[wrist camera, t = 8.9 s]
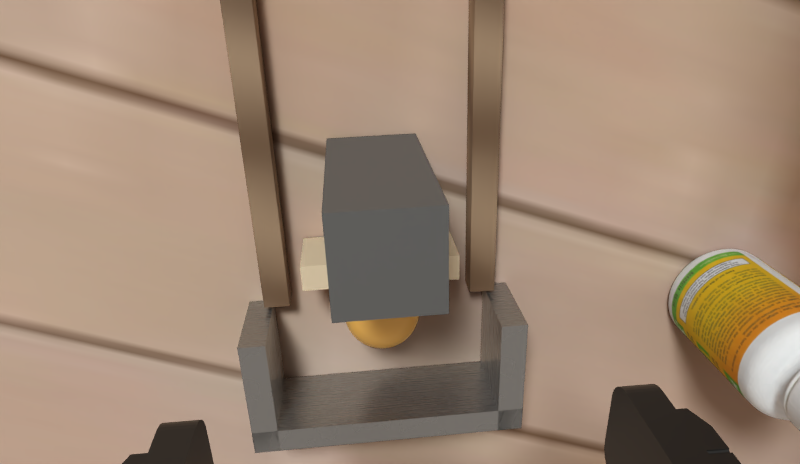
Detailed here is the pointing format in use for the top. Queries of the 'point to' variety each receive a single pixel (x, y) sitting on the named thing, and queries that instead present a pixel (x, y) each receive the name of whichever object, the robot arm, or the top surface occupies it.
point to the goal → (385, 388)
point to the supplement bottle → (744, 326)
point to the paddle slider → (381, 232)
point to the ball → (383, 331)
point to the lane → (261, 158)
